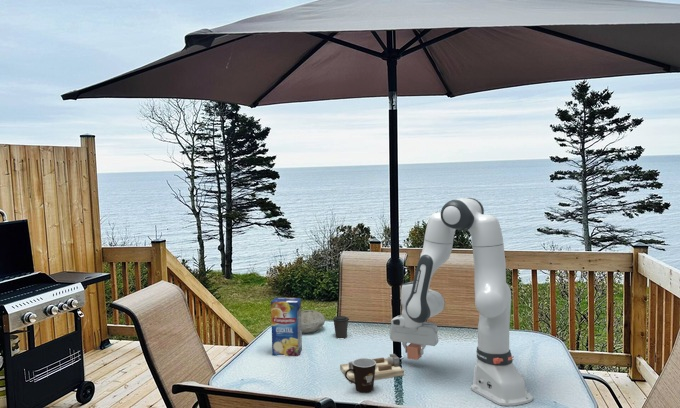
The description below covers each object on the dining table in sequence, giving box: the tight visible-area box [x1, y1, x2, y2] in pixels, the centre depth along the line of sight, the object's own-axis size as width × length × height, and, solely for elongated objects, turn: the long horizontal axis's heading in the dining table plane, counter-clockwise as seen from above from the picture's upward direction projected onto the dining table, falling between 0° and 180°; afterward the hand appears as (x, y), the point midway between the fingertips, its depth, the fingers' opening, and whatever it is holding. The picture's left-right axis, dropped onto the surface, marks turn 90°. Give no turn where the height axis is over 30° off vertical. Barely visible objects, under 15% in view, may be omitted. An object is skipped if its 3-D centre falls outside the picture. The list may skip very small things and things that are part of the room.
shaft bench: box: [339, 353, 405, 384], centre depth 194 cm, size 14×22×5 cm, turn 107°
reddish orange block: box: [406, 343, 423, 361], centre depth 200 cm, size 4×4×5 cm
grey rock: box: [301, 309, 326, 334], centre depth 248 cm, size 18×18×10 cm
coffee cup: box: [332, 315, 350, 339], centre depth 237 cm, size 8×8×10 cm
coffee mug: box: [344, 357, 376, 394], centre depth 179 cm, size 12×9×10 cm
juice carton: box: [270, 297, 303, 357], centre depth 217 cm, size 12×8×24 cm, turn 82°
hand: (414, 353), depth 200 cm, fingers closed on reddish orange block, 4 cm apart
